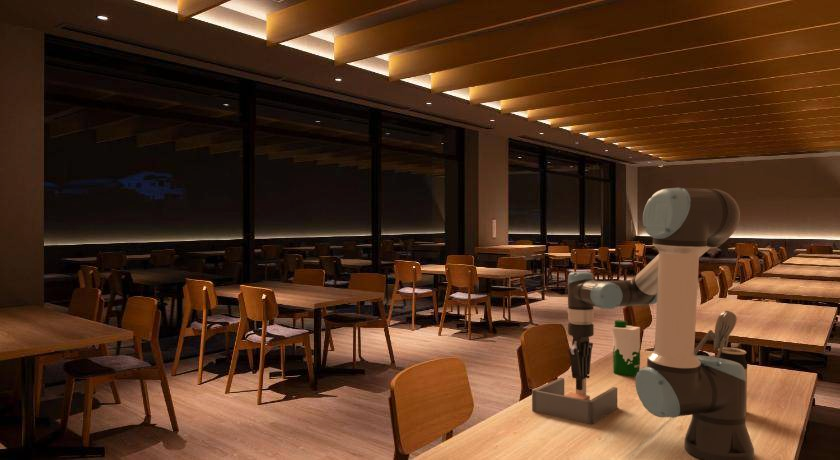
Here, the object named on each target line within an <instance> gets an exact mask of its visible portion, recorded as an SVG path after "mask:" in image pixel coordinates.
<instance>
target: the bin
mask: <svg viewBox="0 0 840 460" xmlns="http://www.w3.org/2000/svg"><path fill="white" fill-rule="evenodd" d="M531 400H532V401H531V407H532V412H535V413H541V414H545V415H549V416H553V417H558V418H562V419H567V420H571V421H576V422H581V423H586V424H589V425H593V424H594V423H597V422H598V421H599V420H601V419H602V418H604V417H605V416H607V415H608V414H610V413H611V412H613V411H615V410H616V409H617V408H618V387H616V386H612V387H611V388H609V389H607V390H605V391H603V392H602V393H600V394H599V395H597V396H595V397H593V398H592V399H591V398H590V401H588V400H583V399H578V398H573V397H568V396H565V378H564V377H560V378H557V379H555V380H553V381H550V382H548V383H546V384H544V385H542V386H539V387H537V388H534V389H533V390H532V391H531Z"/></svg>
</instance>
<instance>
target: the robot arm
mask: <svg viewBox="0 0 840 460" xmlns="http://www.w3.org/2000/svg"><path fill="white" fill-rule="evenodd" d="M740 218H741V211H740V207H739V204H738V203H737V201H736V200H735V199H734V198H733V197H732V196H731V195H730V193H728V192H726V191H723V190H721V189H716V188H690V187H689V188H687V187H671V188H670V187H669V188H663V189H660V190H657V191H656V192H654V193H653V194H652V196H650V198H649V199H648V200H647V202H646V204H645V206H644V210H643V213H642V224H643V228H645V232H646V234H647V235H649V236H650V237H651V238H652V245H653V247H654V248H656V249H657V250H658V254H657V255H656V256H655V257H654V258H653V259H651V261H649V263H648V264H646V265H645V267H644V268H642V269H641V270H640V271H639V272H638V273H637V274H636V275H635V276H634V277H632V279H629V280H627V279H626V280H624V279H623V280H594V279H595V278H594V274H593V273H592V272H590V271H571V272H569V274H568V276H567V277H568V278H567V307H568V308H567V311H566V313H567V314H568V315H567V316H568V317H567V318H568V319H567V320H568V324H567V331H568V332H567V334H568V335H569V336H571V337H572V341H571V344H572V345H571V347H568V348H567V350H568V354H569V360H570V369H571V370H570V371H571V377H572V379H575V393H578V394H583V395H587V379H590V372H591V360H592V350H593V346H594V343H593V342H590V338H591V337H593V336H594V333H595V330H594V326H595V325H594V324H593V323H594V319H595V318H594V317H595V316H594V315H595V312H594V307H596V308H600V309H602V310H605V309H607V310H613V309H616V308H617V307H637V306H638V307H639V306H640V307H644V306H650V305H654V304H656V311H655V312H656V313H655V315H656V316H655V333H654V350H652V351H651V352H650V353H648V355H647V359H646V360H647V361H646V366H645V367H642V368H640V369H639V372H638V373H637V375H636V376H635V389H636V394H637V397H638V398H639V401H640V402H641V403H642V405H643V407H644V408H645V409H646V410H647V412H649V413H650V414H652V415H653V416H655V417H658V418H673V419H674V418H677V417H684V416H690V415H691V420H690V423H689V425H688V428H687V431H686V433H685V437H684V450H685V451H686V452H687V453H688V454H690V455H692V456H694V457H696V458H698V459H700V460H755V448H754V445H753V443H752V439H751V436H750V433H749V431H748V428H747V425H746V423H747V422H746V413H747V412H746V379H745V369H744V367H743V366H742V365H741V364H739V363H737V362H734V361H731V360H726V359H722V358H717V356H709V355H701V354H700V355H698V354H696V355H694V350H695V337H696V322H697V305H698V304H697V303H698V302H697V301H698V285H699V284H698V282H699V265H700V264H699V261H700V257H702V256H703V255H704V254H705V253H706V252H708V251H709V250H710V249H717V248H719V247H720V246H722V244H725V242H726V241H727V240H728V239H730V237H731V236H732V235H733V234H734V233H735V231H736V230H737V228H738V225H739V223H740Z"/></svg>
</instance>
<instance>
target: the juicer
mask: <svg viewBox="0 0 840 460" xmlns="http://www.w3.org/2000/svg"><path fill="white" fill-rule="evenodd" d="M737 320H738V319H737V315H736V314H735V313H734V312H733V311H729V310H724V311H722V312H721V313H720V314H719V316H718V317H717V319H716V323H715V327H714V331H713V330H712V329H709V331H708V332H707V333H705V335H704V337H703V338H702V339H701V340H700V341H699V343H698V344H697V346H696V347H695V348H694V355H698V353H699V351H700V350H701V348H702V347H704V345H705V344H706V343H707V341H708V340H709V339H710V338H711V339H712V340H713V351H714V352H715V351H717V350H718V348H719V351H718V352H717V355H716V358H720V355H721V352H722V349H723V348H728V343H729V338H730V335H731V333H732V332H733V330H734V328H735V326H736V323H737Z"/></svg>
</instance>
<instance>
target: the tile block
mask: <svg viewBox="0 0 840 460" xmlns="http://www.w3.org/2000/svg"><path fill="white" fill-rule="evenodd" d="M564 396H568V397H573V398H578V399H583V400H588V401H590V400H591V398H590V397H591V396H590V395H587V394H586V395H583V394H578V393H576V392H572V391H571V392H568V393H567V394H564Z"/></svg>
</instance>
